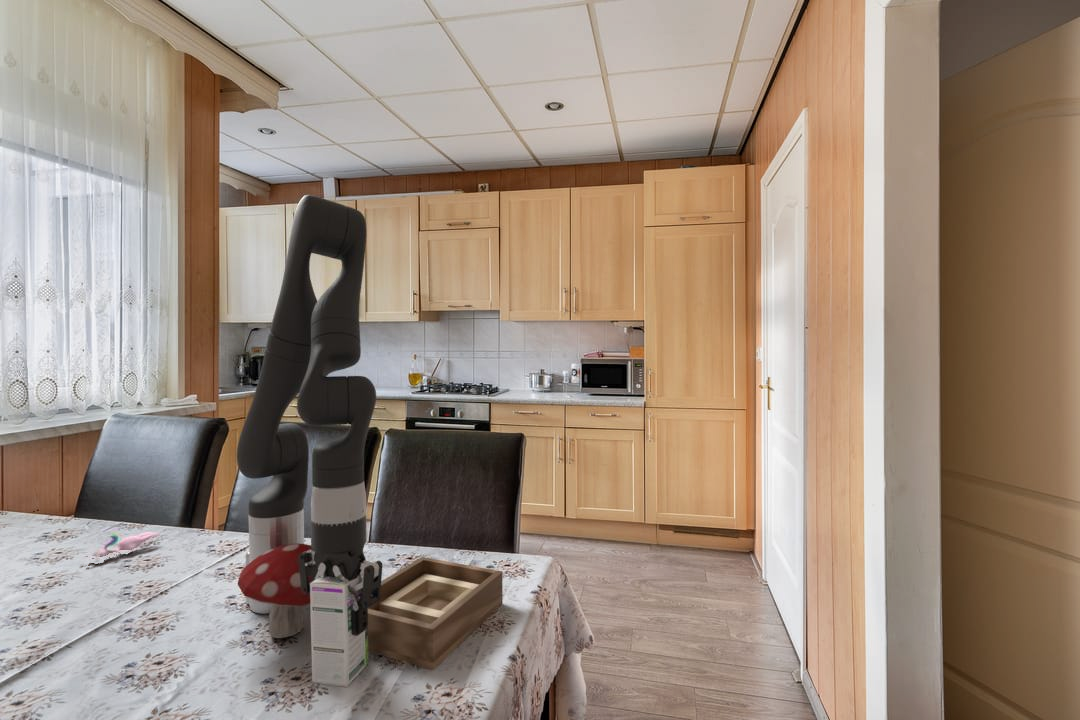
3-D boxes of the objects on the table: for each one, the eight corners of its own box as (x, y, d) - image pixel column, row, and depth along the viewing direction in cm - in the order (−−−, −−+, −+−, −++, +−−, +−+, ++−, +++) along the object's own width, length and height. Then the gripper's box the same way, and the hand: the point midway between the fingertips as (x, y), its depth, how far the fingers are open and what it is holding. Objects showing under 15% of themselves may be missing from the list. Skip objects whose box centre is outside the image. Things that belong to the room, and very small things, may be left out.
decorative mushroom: (333, 602, 98) (332, 522, 98) (355, 641, 85) (354, 549, 84) (234, 627, 89) (233, 540, 89) (242, 675, 76) (241, 572, 76)
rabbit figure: (93, 576, 113) (166, 542, 127) (87, 550, 112) (162, 519, 126) (78, 570, 116) (152, 538, 129) (72, 545, 115) (147, 515, 128)
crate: (339, 643, 84) (339, 606, 84) (422, 586, 104) (422, 556, 104) (433, 669, 77) (432, 629, 77) (502, 603, 97) (502, 571, 97)
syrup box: (347, 688, 73) (347, 584, 73) (309, 682, 74) (309, 581, 74) (369, 664, 78) (368, 568, 78) (333, 659, 80) (333, 564, 79)
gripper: (395, 512, 76) (396, 625, 77) (321, 501, 82) (323, 607, 82) (359, 528, 70) (360, 652, 70) (281, 515, 75) (282, 630, 76)
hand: (340, 627), depth 76 cm, fingers closed on syrup box, 6 cm apart
